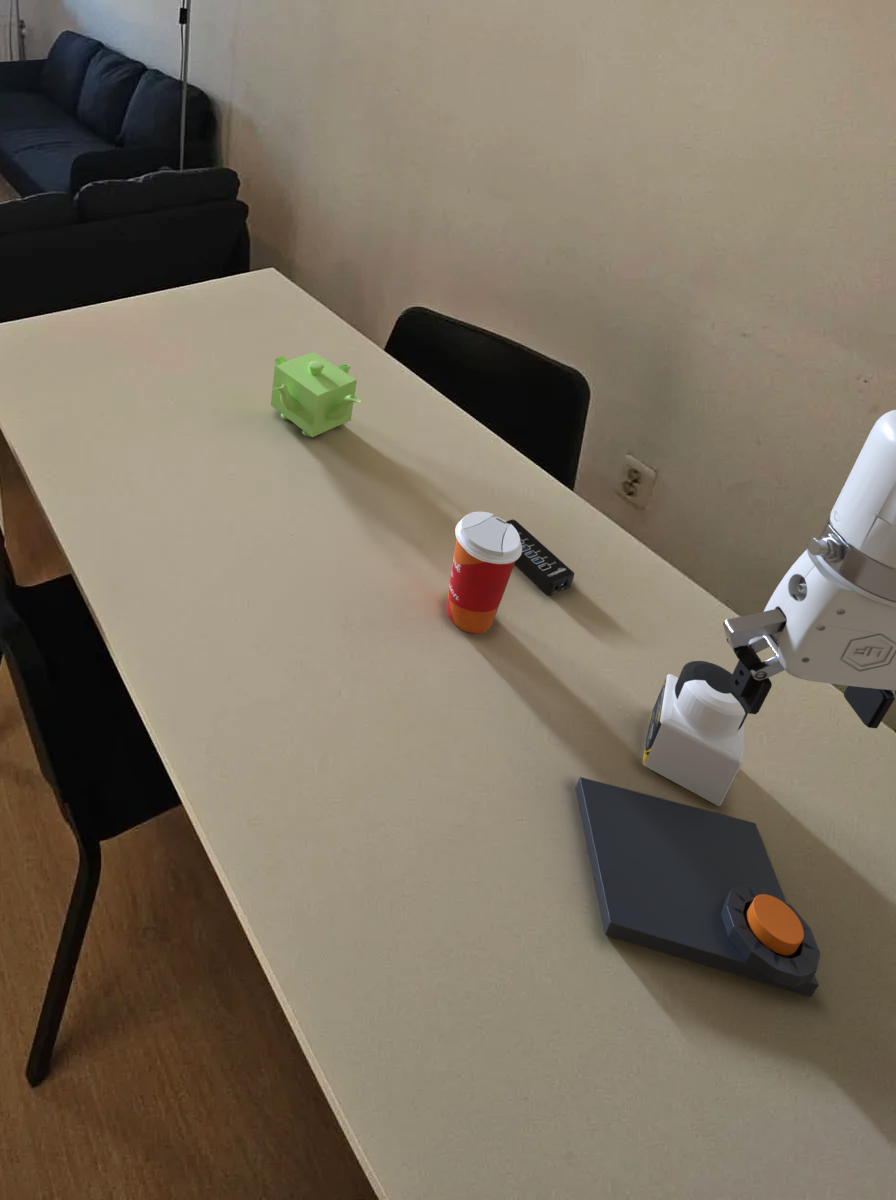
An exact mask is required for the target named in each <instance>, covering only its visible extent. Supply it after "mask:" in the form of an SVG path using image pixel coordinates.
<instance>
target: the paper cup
mask: <svg viewBox="0 0 896 1200" xmlns="http://www.w3.org/2000/svg"><path fill="white" fill-rule="evenodd" d="M506 521H507V520H505V519H503V518H501V517H499V516H495V515H494V513H491V512H487V511H473V512H469V513H467V514H466V515H464V516H463V517H462V519H460V520H459V521H458V522H457V524H456V525H455V529H454V532H455V538H456V540H455V547H454V553H453V558H452V560H453V561H452V564H451V565H452V566H451V571H450V572H451V573H450V579H449V585H448V591H447V598H446V606H445V607H446V608H445V609H446V614H447V617H448V618H449V620H450V622H451V623H453V625H455V626H456V627H457V628H459V629H461V630H462V631H464V632H466V633H469V634H483V633H486V632H488V630H490V628H491V627H492V624H493V622H494V620H495V617H496V615H497V613H498V610H499V607H500V604H501V602H502V599H503V596H504V594H505V591H506V588H507V585H508V583H509V580H510V577H511V574H512V572H513V569H514V567H515V565H514V564H515V561H516V560H517V559H518V558H519V557H520V556H521V553H522V545H521V542H520V536H519V534H518V532H517V530H516V529H515V528H514V526H513V525H512V524H510V525H509V524H508V523H506Z"/></svg>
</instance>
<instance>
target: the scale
mask: <svg viewBox="0 0 896 1200" xmlns="http://www.w3.org/2000/svg"><path fill="white" fill-rule="evenodd" d="M575 793H576V799H577V804H578V809H579V814H580V818H581V823H582V828H583V832H584V837H585V842H586V846H587V847H586V848H587V853H588V858H589V863H590V869H591V873H592V876H593V882H594V887H595V892H596V897H597V903H598V907H599V912H600V917H601V922H602V927H603V932H604V935H605V936H607V937H611V938H613V939H618V940H621V941H624V942H627V943H631V944H634V945H637V946H640V947H644V948H647V949H650V950H654V951H657V952H661V953H664V954H668V955H669V956H670V955H671V956H674V957H676V958H681V959H684V960H686V961H691V962H693V963H696V964H700V965H703V966H707V967H711V968H713V969H717V970H720V971H723V972H727V973H729V974H733V975H736V976H740V977H743V978H747V979H750V980H753V981H757V982H760V983H762V984H766V985H769V986H773V987H776V988H779V989H783V990H786V991H790V992H792V993H796V994H798V995H799V994H800V995H803V996H806V997H809V998H810V997H812V996H813V995H814V993H815V992H816V991H817V989H818V987H820V984H819V982H818V979H817V976H816V973H817V972H818V968H819V962H820V958H821V951H820V948H819V945H818V942H817V941H816V938H815V936H814V933H813V931H812V929H811V927H810V926H809V925H808V924H807V922H806V921H805V920H804V919H803V917H802V916H801V915H800V914H799V913H798V911H796V909H795V908H794V906H793V905H791V904H790V903H789V902H788V901H787V900H786V897H785V895H784V892H783V890H782V888H781V885H780V882H779V880H778V877H777V874H776V871H775V870H774V866H773V864H772V861H771V859H770V856H769V854H768V852H767V849H766V847H765V843H764V841H763V839H762V836H761V834H760V831H759V828H758V825H757V823H756V822H753V821H749V820H745V819H741V818H737V817H734V816H730V815H726V814H723V813H719V812H715V811H711V810H707V809H704V808H700V807H696V806H692V805H689V804H685V803H682V802H677V801H674V800H669V799H665V798H662V797H658V796H654V795H650V794H647V793H643V792H640V791H636V790H632V789H628V788H624V787H619V786H616V785H613V784H608V783H605V782H601V781H597V780H593V779H591V778H586V777H582V776H580V777H579V778H578V781H577V783H576V785H575ZM761 894H766V895H770V896H773V897H775V898H777V899H779V900H780V901H782V902H783V903H785V904H786V905H787V906H788V907H789V908H790V909H791V910H792V911H793V912H794V913H795V914H796V916H797V917H798V919H799V920H800V922H801V924H802V927H803V931H804V938H803V940H802V942H801V944H800V945H799V947H798V948H797V950H796V951H795V953H794V954H792V955H780V954H777V953H775V952H773V951H771V950H770V949H768V948H767V947H766V946H764V945H763V944H762V943H761V942H760V941H759V940H758V939H757V938H756V936H755V935H754V934H753V932H752V930H751V929H750V927H749V924H748V921H747V910H748V909H749V907H750V905H751V903H752V902H753V900H754V898H755V897H756V896H758V895H761Z"/></svg>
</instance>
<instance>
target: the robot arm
mask: <svg viewBox="0 0 896 1200" xmlns="http://www.w3.org/2000/svg"><path fill="white" fill-rule="evenodd" d="M806 546H807V548H806V550H804V552H803V553H802V554H801V555H800V556H799V557H798V558H797V560H795V562H794V563H793V564H792V565H791V566H790V568H789V569H788V571H787V572H786V573H785V575H784V576H783V577H782V579H781V581H780V582H779V583H778V585H777V587H776V588H775V590H774V591H773V593H772V595H771V596H770V598H769V600H768V602H767V604H766V605H765V608H764V610H763V611H760V612H756V613H755V612H754V613H751V614H746V615H742V616H737V617H733V618H728V619H725V620H724V621H723V622H722V626H723V630H724V633H725V637H726V642H727V644H728V645H729V647H730V648H731V649H732V651H733V653H734V655H735V656H736V658H737V659H738V661H737V663H736V666H735V668H734V670H733V671H732V673H731V674H732V676H731V678H730V685H731V688H732V690H733V691H734V693H735V694H736V696H738V698H739V700H740V701H741V703H742V705H743V706H744V708H745V710H746V711H747V713H748V715H757V714H758V713H760V710H761V708H762V706H763V704H764V702H765V701H766V699H767V696H768V695H769V692H770V690H771V689H772V686H773V684H772V681H771V680H770V678H771V677H774V676H775V675H778V674H780V673H782V672H783V671H785V672H786V673H787V674H788V675H790V676H791V677H794V678H797V679H799V680H804V681H808V682H815V683H821V684H822V683H823V684H830V685H840V686H847V687H846V689H845V690H844V692H843V697H844V699H845V700H846V702H847V703H848V705H849V706H850V707H851V708H852V710H853V711H854V713H855V714H856V716H858V718H859V720H860V721H861V722H862V723H863V725H865V726H866V727H867V728H868V729H878V727H879V726H880V725H881V723H882V722H883V719H884V718H885V716H886V714H887V713H888V712H889V709H890V708H891V706H892V704H893V703H894V701H895V700H896V409H892V410H890V411H887V412H886V413H884V414H883V415H881V416H880V417H879V418H878V419H877V420H876V422H875V423H874V424H873V426H872V429H870V432H869V434H868V436H867V438H866V440H865V442H864V444H863V446H862V448H861V450H860V451H859V454H858V456H857V458H856V461H855V463H854V464H853V467H852V469H851V471H850V472H849V475H848V476H847V479H846V481H845V482H844V485H843V487H842V489H841V491H840V493H839V495H838V497H837V499H836V501H835V503H834V505H833V506H832V510H831V511H830V513H829V515H828V518H827V519H826V522H825V524H824V525H823V527H822V530H821V532H820V534H819V536H818V537H809V538H808V539H807V542H806ZM768 648H770V649H771V650H772V652H773V653H774V654H775V655H774V656H772V657H769V658H767V659H766V660H764V661H762V660H761V658H760V657H759V655H758V653H760V652H762V651H763V650H766V649H768Z"/></svg>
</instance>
